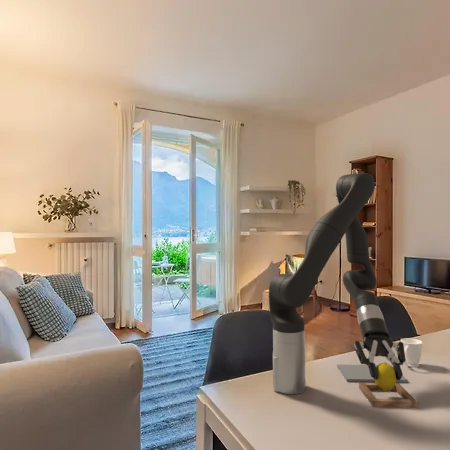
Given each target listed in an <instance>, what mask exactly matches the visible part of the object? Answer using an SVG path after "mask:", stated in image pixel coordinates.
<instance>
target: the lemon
mask: <svg viewBox="0 0 450 450" xmlns="http://www.w3.org/2000/svg"><path fill="white" fill-rule="evenodd" d="M376 365H377V367H376V370H377V373H378V378H377V379H375V382H374V383H376V384H377V385H378V386H379V387H380V388H381V389H383V390H382V391H384V392H388V391H387V390H390V389H392V388H393V387H394V386H395V383H397V382H396V374H395V371H394V369H393V367H392V366H393V365H392V366H390V365H391V364H389V363H387V362H386V361H383V362H382V363H379V364H376Z"/></svg>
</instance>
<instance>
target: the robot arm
mask: <svg viewBox="0 0 450 450" xmlns="http://www.w3.org/2000/svg"><path fill="white" fill-rule="evenodd" d="M375 182H376V181H375V179H374V176H372V175H371V174H370V173H368V172H367V173H366V172H358V173H350V174H344V175H341V176H340V177H339V178H338V179H337V181H336V183H335V192H336V197H337V198H336V199H337V203H338V204H337V205H336V206H334V207H333V208H332V209H330V210H329V211H328V212H326V213H324V215H322V216H321V217H320V218H319V219H318V220H317V221H316V222H315V224H314V225H313V227H312V229H310V231H309V233H308V235H307V237H306V240H305V248H304V249H305V250H304V257H303V259H302V260H301V263H300V264H299V266H298V268H297V270H296V271H295V272H293V274H287V273H279V274H276V275H275V276H273V277H272V279H271V281H270V283H269V286H268V302H269V303H268V304H269V306H268V307H269V317H270V320H271V322H272V349H273V350H272V385H273V390H274V392H279V393H282V394H285V395H287V394H288V395H297V394H301V393H303V392H305V391H306V347H305V346H306V341H305V339H306V338H305V337H306V336H305V331H306V330H305V321H304V319H303V318H302V316H300V314H299V313H298V311H297V309H298V308H300V307H302V306H304V305H305V304H306V303H307V301H308V300H309V298H310V297H311V294H312V292H313V291H314V288H315V286H316V285H317V282H318V280H319V277H320V276H321V273H322V272H323V270H324V269H325V267H326V265H327V263H328V261H329V260H330V258H331V256H332V255H333V253H334V252H335V251H336V249H337V247H338V246H339V244H340V243H341V241H342V239H343V237H344V236H345V243H346V244H345V245H346V258H347V261H348V263H350V264H354V265H359V266H362V268H363V269H353V270H352V269H350V270H346V271H345V272H344V273H343V275H342V282H343V286H344V288H345V290H346V292H347V293H348V295H349V296H350V297H351V299H352V301H353V303H354V307H355V311H356V316H357V317H356V318H357V323H358V325H359V330H360V333H361V337H362V341H359V340H356V341H355V342H354V344H353V348H354V351H355V353H356V356H357V357H358V360H359V363H360V365H368V367H369V371H370V375H371V377H373V379H377V378H378V373H377V370H376V366H375V365H376V363H375V362H374V361H375V357H385V359H386V360H387V361H389V362H390V365H392V366H393V369H394V371H395V374H396V380H400V379H401V377H402V376H404V374H403V370H402V368H401V366H403V365H404V364H405V363H404V362H405V360H406V359H405V352H404V345H403V343H402V342H401V341H399V342H394V341H393V340H392V338H390V334H389V333H390V332H389V331H388V328H387V324H386V321H385V319H384V318H385V317H384V315H383V312H382V311H381V308H380V305H379V302H378V299H377V296H376V294H375V293H374V292H372V291H373V290H374V289H375V288H376V286H377V283H378V281H377V280H378V279H377V277H376V275H375V271H374V269H373V267H372V261H371V258H370V250H369V238H368V235H367V232H366V230H365V229H364V226H363V225H362V223H361V221H360V220H359V217H358V214H359V213H360V212H361V210H362V209H363V208H364V207H365V205H366V204H367V203H368V202H369V200H370V199H371V197H372V196H373V194H374V191H375V188H376V187H375V185H376V183H375ZM363 348H365V350H367V351H368V357H367V356H366V354H365V352H364V349H363ZM392 348H394V350H395V351H396V353H397V354H396V353H395V352H394V351H393V349H392ZM396 355H397V356H396Z"/></svg>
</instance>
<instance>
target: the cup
mask: <svg viewBox="0 0 450 450" xmlns="http://www.w3.org/2000/svg"><path fill="white" fill-rule="evenodd" d="M400 342H402V343H403V345H404V352H405V359H406V360H405V362H404V363H403V364H404V365H405V366H406V367H409V368H411V367H412V368H417V367H420V365H419V364H420V361H421V356H422V351H423V350H422V348H423V341H422V340H420V339H417V338H408V337H406V338H400Z"/></svg>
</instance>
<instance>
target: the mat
mask: <svg viewBox="0 0 450 450" xmlns="http://www.w3.org/2000/svg"><path fill="white" fill-rule="evenodd" d="M377 365H378V364H375V366H376V367H377ZM389 365H390V366H392V367H393V365H392V364H389ZM336 367H337V369H338V370H340V374H341V373H342V374H341V375H342V376H344V377H343V379H345V382H349V383H351V382H353V383H354V382H356V383H376V382H375V379H373V377H371V375H370V371H369V367H368V365H366V364H337V365H336ZM396 383H408V379H407V378H406V377H405V376H404V375H403V376H402V377H401V379H400V380H396Z"/></svg>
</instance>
